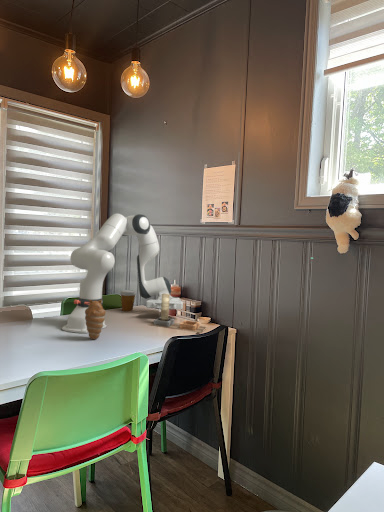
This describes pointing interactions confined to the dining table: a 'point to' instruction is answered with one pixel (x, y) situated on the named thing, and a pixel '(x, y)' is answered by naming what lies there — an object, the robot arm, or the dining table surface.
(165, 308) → the peg
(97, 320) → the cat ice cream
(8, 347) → the dining table surface
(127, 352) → the dining table surface
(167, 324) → the rail board
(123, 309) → the disposable coffee cup
